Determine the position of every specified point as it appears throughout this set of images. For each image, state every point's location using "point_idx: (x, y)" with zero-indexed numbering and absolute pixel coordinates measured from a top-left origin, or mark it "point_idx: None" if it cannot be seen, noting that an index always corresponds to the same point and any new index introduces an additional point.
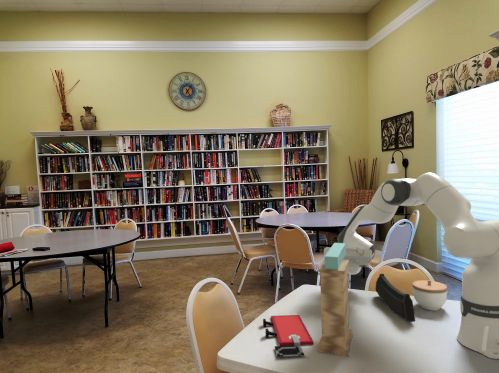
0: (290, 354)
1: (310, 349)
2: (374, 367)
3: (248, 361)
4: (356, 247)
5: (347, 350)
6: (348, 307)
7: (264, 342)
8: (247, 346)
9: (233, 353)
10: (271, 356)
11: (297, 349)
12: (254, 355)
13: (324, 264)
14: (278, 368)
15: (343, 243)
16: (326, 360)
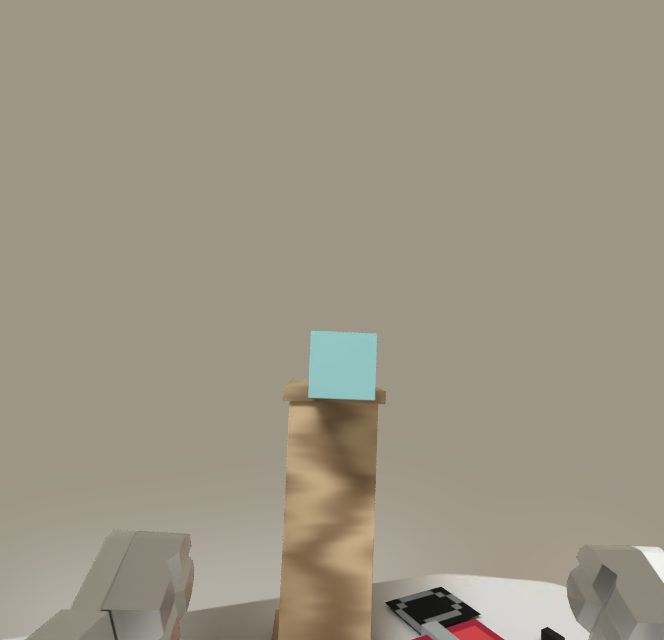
0: (419, 598)
1: (386, 635)
2: (209, 610)
3: (491, 580)
4: (174, 533)
5: (277, 611)
6: (280, 600)
7: (529, 635)
8: (549, 614)
9: (547, 591)
10: (461, 598)
11: (415, 616)
12: (499, 594)
13: None
14: (419, 576)
15: (322, 331)
16: None
